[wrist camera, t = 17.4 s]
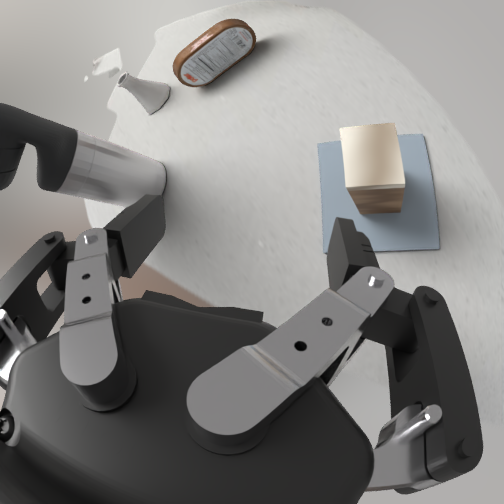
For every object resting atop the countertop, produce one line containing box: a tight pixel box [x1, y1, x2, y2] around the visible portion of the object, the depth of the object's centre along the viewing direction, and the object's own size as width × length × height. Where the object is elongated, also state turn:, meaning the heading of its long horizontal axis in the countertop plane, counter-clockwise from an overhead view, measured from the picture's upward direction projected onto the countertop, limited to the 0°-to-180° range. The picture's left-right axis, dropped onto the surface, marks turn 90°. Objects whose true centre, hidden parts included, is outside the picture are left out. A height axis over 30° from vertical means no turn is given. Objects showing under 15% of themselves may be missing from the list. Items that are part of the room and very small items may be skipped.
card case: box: [340, 123, 405, 214], centre depth 22 cm, size 4×5×10 cm
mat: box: [317, 134, 440, 253], centre depth 27 cm, size 13×13×1 cm
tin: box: [173, 19, 256, 87], centre depth 35 cm, size 15×3×8 cm, turn 116°
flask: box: [117, 72, 170, 114], centre depth 42 cm, size 7×7×10 cm
